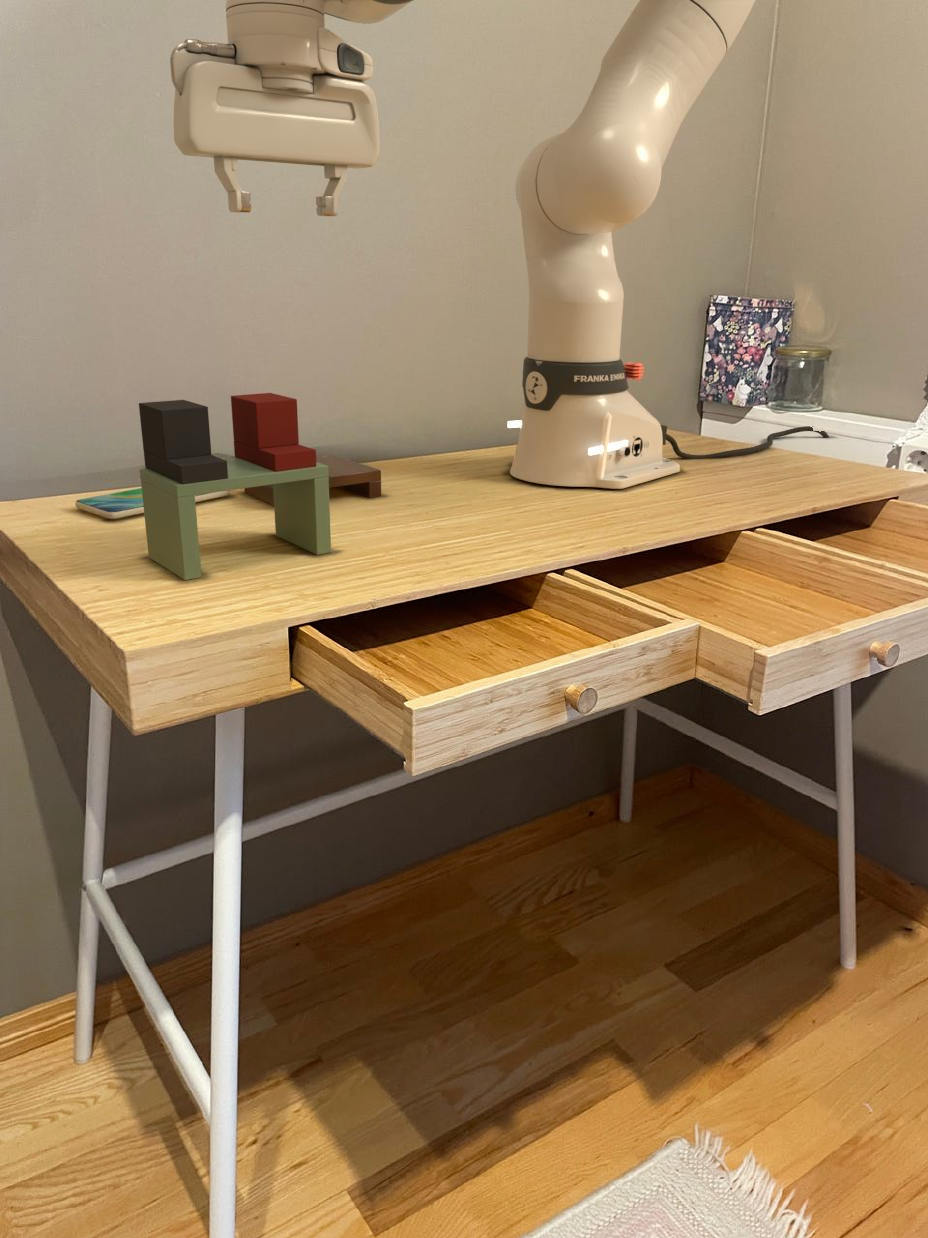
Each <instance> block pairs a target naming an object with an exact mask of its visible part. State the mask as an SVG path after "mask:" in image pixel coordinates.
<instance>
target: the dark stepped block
mask: <svg viewBox="0 0 928 1238" xmlns="http://www.w3.org/2000/svg"><path fill="white" fill-rule="evenodd" d="M138 410H139V419H140V420H139V421H140V429H141V430H140V431H141V441H142V449H143V458H144V460H143V461H144V468H148V469H150V470H152V471H154V472H156V473H159V474H161V475H163V476H165V477H167V478H170V479H172V480H174V481H176V482H178V483H181V484H189V483H197V482H205V481H212V480H220V479H228V469H227V461H226V460H224V459H225V458H221V457H219V456H215V455H213V454H212V445H211V431H210V429H211V428H210V417H209V407H208V406H207V405H203V404H199V403H197V402H193V401H189V400H186V399H176V400H175V399H174V400H162V401H148V402H138Z"/></svg>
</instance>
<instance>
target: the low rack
mask: <svg viewBox="0 0 928 1238" xmlns="http://www.w3.org/2000/svg"><path fill="white" fill-rule="evenodd" d="M316 462H318V463H321V464H324V465H327V466H328V473H329V476H328V478H329V489H331V488H337V487H338V488H340V489H344V490H347V491H350V492H352V493H355V494H358V495H361V496H364V497H366V498H369V499H371V498H377V497H382V470H381V469H379V468H376V467H373V466H369V465H367V464H363V463H360V462H357V461H353V460H350V459H346V458H344V457H342V456H341V457H340V456H338V455H329V456H328V455H327V456H321V457H320V456H319V457H316ZM243 491H244V494H246V495H248V496H251V497H253V498H255V499H258V500H261V501H263V502H265V503H267V504H270V505H272V506H274V494H273V484H272V485H264V486H257V487H250V488H243Z"/></svg>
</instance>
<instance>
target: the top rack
mask: <svg viewBox="0 0 928 1238" xmlns="http://www.w3.org/2000/svg"><path fill="white" fill-rule="evenodd" d="M223 459H224V460H226V461H227V469H228V479H220V480H212V481H205V482H197V483H189V484H181V483H178V482H176V481H174V480H172V479H170V478H167V477H165V476H163V475H161V474H159V473H156V472H154V471H152V470H150V469H148V468H145V467H143V468H142V467H141V468H139V476H140V485H141V487H140V488H142V497H143V506H144V513H143V515H144V523H145V524H144V525H145V533H146V534H145V535H146V543H147V544H146V545H147V552H148V558H149V559H150V560H152V561H154V562H155V563H157V564H159V565H160V566H162V567H163V568H165V569H166V570H168V571H169V572H171V573H173V575H176V576H177V577H179V578H181V579H182V580H184V581H188V580H193V579H199V578H202V575H203V574H202V565H201V564H202V563H201V554H200V553H201V552H200V541H199V540H200V539H199V528H198V518H197V517H198V516H197V506H196V505H197V503H196V502H195V495H199V494H206V493H213V492H221V491H228V490H229V491H235V490H241V489H243V490H244V488H250V487H257V486H264V485H272V484H273V494H274V505H273V509H274V510H273V511H274V529H275V536H276V537H277V538H280V539H282V540H284V541H287V542H289V543H291V544H292V545H295V546H298V547H300V548H301V549H304V550H306V551H308V552H309V553H312V554H314V555H316V556H319V555H324V554H330V553H332V541H331V540H332V538H331V535H332V534H331V509H330V507H331V506H330V488H329V478H328V476H329V473H328V466H327V465H324V464H321V463H318V462H316V467H309V468H301V469H294V470H286V471H278V472H275V471H272V470H270V469H267V468H264V467H261V466H259V465H256V464H253V463H251V462H248V461H245V460H242V459H240V458H237V457H235V456H234V457H227V458H223Z"/></svg>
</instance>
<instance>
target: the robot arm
mask: <svg viewBox="0 0 928 1238" xmlns="http://www.w3.org/2000/svg"><path fill="white" fill-rule="evenodd" d="M756 1H757V0H639V1H638V2H637V4H636V5H635V7H634V9H633V10H632V11H631V13H630V15H629V16H628V18H627V20H626V21H625V22H624V24H623V25H622V27H621V29H620V30H619V32H618V33H617V35H616V37H615V38H614V39H613V41H612V43H611V45H610V46H609V48H608V49H607V51H606V52H605V54H604V55H603V57H602V60H601V63H600V70H599V72H598V75H597V77H596V80H595V82H594V85H593V86H592V89H591V91H590V93H589V95H588V98H587V100H586V102H585V104H584V106H583V108H582V109H581V111H580V113H579V115H578V116H577V118H576V119H575V120H574V122H572V124H571V125H570V126H569V127H568V128H567V129H566V130H565V131H564V132H561V133H557V134H554V135H552V136H550V137H547V138H544V139H543V140H542V141H540V142H539V143H537V144H536V145H535V146H534V148H533V149H532V150H530V152H529V153H528V155H526V157H525V159H524V160H523V162H522V164H521V166H520V168H519V170H518V172H517V174H516V178H515V197H516V202H517V206H518V208H519V210H520V216H521V226H522V237H523V246H524V247H523V248H524V253H525V260H526V269H527V278H528V319H527V320H528V321H527V351H526V352H527V353H526V355H527V356H526V357H524V359H523V365H522V367H523V368H522V380H521V381H522V384H521V385H522V386H521V387H522V391H523V398H524V400H523V407H522V408H523V409H522V411H521V412H522V414H521V419H520V420H508V421H507V428H508V429H512V428H513V429H514V428H519V432H518V439H517V442H516V443H517V444H516V448H515V453H514V456H513V460H512V463H511V466H510V470H509V475H511V476H512V477H513V478H515V479H518V480H522V481H525V482H529V483H534V484H540V485H548V486H555V487H556V486H557V487H572V488H573V487H577V488H578V487H580V488H581V487H583V488H585V487H586V488H601V489H612V490H613V489H614V490H621V489H627V488H629V487H633V486H636V485H639V484H643V483H647V482H649V481H653V480H656V479H659V478H663V477H666V476H669V475H673V474H677V473H679V472H681V465H680V463H678V462H677V461H675V460H672V459H670V458H667V457H664V456H663V447H664V446H666V444H667V443H666V442H668V443H669V444H670V445H671V448H672V450H673V452H674V454H675V455H676V456H677V457H678V458H682V459H684V460H706V459H721V458H727V457H733V456H738V455H746V454H752V453H756V452H760V451H762V450H764V449H765V450H766V449H767V448H770V447H771V446H772V445H773V443H774V439H776V438H781V437H785V436H790V435H792V434H798V433H801V432H802V433H803V432H813V433H817V434H819V435H820V436H822V438H824V439H830V436H829V434H828V433H827V431H825V430H824V431H821V432H819V431H813V428H812V427H813V426H812V427H810V425H806V426H805V425H804V426H798V427H794V428H790V429H789V428H788V429H785V430H782V431H781V430H780V431H776V432H773V433H770V434H769V435H767V438H766V439H767V440H766V441H765V442H764V443H761V444H759V445H758V444H757V445H755V446H750V447H745V448H744V447H743V448H738V449H737V448H736V449H731V450H725V451H720V452H715V453H709V454H690V453H685V452H683V451H682V450H681V449H680V448H679V446H678V445H679V444H678V443H677V441H676V439H675V438H674V437H673V436H671V434H668V433H667V431H668V425H665V424H660V422H659V420H658V419H657V418H655V417H654V415H652V414H651V413H650V412H649V411H648V410H647V409H646V408H645V407H644V406H643V405H642V404H641V403H640V402H639V401H638V400H637V399H636V398H635V397H634V396H633V395H632V394H631V393H630V392H629V391H628V390H629V388H630V387H629V382H628V380H630V379H632V380H636V381H640V380H641V379H642V378H643V377H644V375H645V367H644V364H643V363H642V362H632V361H627V362H626V363H625V364H624V363H623V361H622V359H621V345H622V344H621V343H622V329H623V314H624V299H625V291H624V286H623V283H622V281H621V279H620V277H619V273H618V270H617V265H616V260H615V259H616V258H615V252H614V243H613V234H612V233H613V232H616V231H618V230H620V229H622V228H624V227H626V226H627V225H630V224H631V223H632V222H634V221H635V220H637V219H638V218H639V217H641V216H642V215H643V214H644V213H646V211H648V209H649V208H650V207H651V206H652V204H653V203H654V201H655V199H656V197H657V195H658V194H659V193H658V192H659V190H660V186H661V181H662V168H663V166H664V165H665V162H666V159H667V157H668V155H669V152H670V150H671V147H672V145H673V143H674V141H675V138H676V136H677V134H678V132H679V130H680V127H681V125H682V124H683V121H684V120H685V118H686V117H687V115H688V113H689V111H690V110H691V108H692V107H693V105H694V103H695V102H696V101H697V99H698V97H700V94H701V93H702V91H703V90H704V89H705V87H706V85H707V84H708V82H709V81H710V80H711V77H712V76H713V74H714V73H715V72H716V70H717V68H718V67H719V65H720V64H721V62H722V60H723V59H724V57H725V56H726V54H727V52H729V50H730V48H731V47H732V45H733V44H734V42H735V40H736V38H737V37H738V35H739V33H740V32H741V30H742V28H743V27H744V25H745V23H746V21H747V19H748V17H749V15H750V13H751V11H752V9H753V7H754V5H755V2H756ZM411 2H414V0H226V2H225V17H226V31H227V32H226V36H227V43H222V42H209V41H201V40H199V39H196V38H186V39H185V40H184V42H183V43H179V44H177V45H176V46H175V47H174V48H173V50H172V51H171V54H170V58H169V64H170V65H169V67H170V77H171V83H172V85H173V87H174V88H175V89H174V99H173V140H174V144H175V146H176V147H177V148H178V149H179V151H180V152H181V153H182V155H184V156H187V157H198V158H199V157H200V158H212V159H213V167H214V173H215V175H216V176H217V178H218V180H219V182H220V183H221V185H222V186H223V188H224V190H225V191H226V193H227V202H228V210H229V212H230V213H245V214H246V213H251V210H252V204H251V203H250V201H251V200H252V199H251V191H244V190H243V189H242V187H241V185H240V183H239V181H238V179H237V177H236V175H235V173H234V172H235V171H238V170H239V160H240V161H254V162H265V163H266V162H267V163H279V164H291V165H302V166H303V165H305V166H317V167H323V171H324V172H323V173H324V175H323V177H324V178H325V179H327V180H328V179H329V180H328V182H327V184H326V188H325V189H324V193H323V195H321V196H315V204H316V208H315V210H316V215H317V216H318V217H337V215H338V213H339V203H338V202H339V201H338V200H339V199H338V197H339V196H340V194H341V193H342V190H343V188H344V186H345V184H346V182H347V180H348V169H367V168H372V167H374V165H375V164H376V163H377V161H378V159H379V157H380V153H381V137H380V136H381V135H380V134H381V133H380V119H379V109H378V102H377V98H376V95H375V93H374V91H373V89H372V87H371V86H370V85H369V84H368V83H367V82H366V81H368V80H370V79H371V78H372V77H373V74H374V62H373V58H372V57H371V56H370V54H368V53H367V52H365V51H364V50H362V49H360V48H359V47H357V46H355V45H353V44H351V43H350V42H348V41H347V40H345V39H343V38H342V37H340V36H338V34H335V33H334V32H333V31H331V30H330V29H328V28H327V27H326V26H325V25H326V24H325V22H326V21H325V15H328V16H330V17H333V18H336V19H341V20H345V21H348V22H352V23H357V24H363V25H371V24H376V23H379V22H382V21H385V20H387V19H388V18H389V17H391V16H393V15H394V14H396V13H397V12H398V11H400V10H401V9H403V8H404V7H405V6H407V5H409V4H410V3H411ZM181 50H184V51H181Z"/></svg>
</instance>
